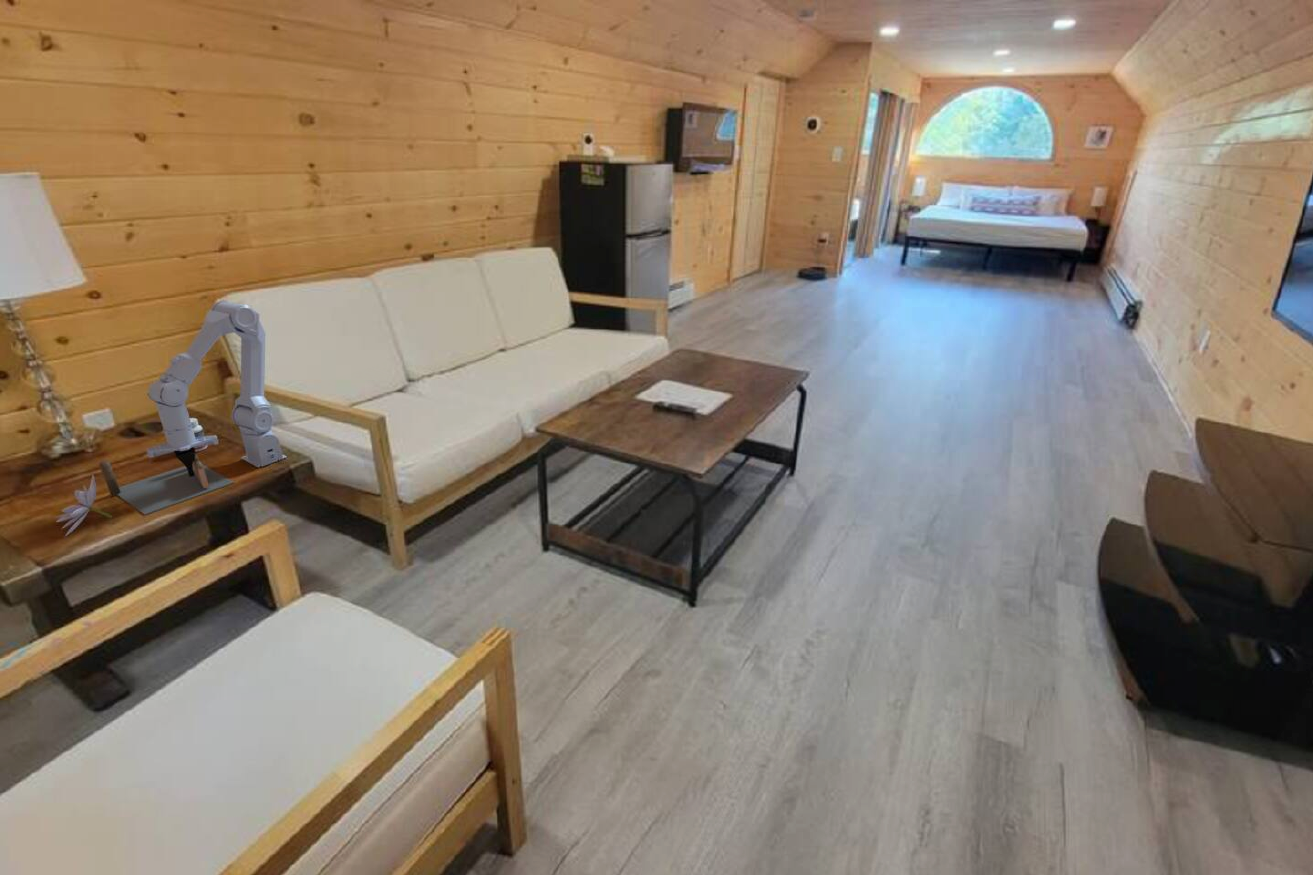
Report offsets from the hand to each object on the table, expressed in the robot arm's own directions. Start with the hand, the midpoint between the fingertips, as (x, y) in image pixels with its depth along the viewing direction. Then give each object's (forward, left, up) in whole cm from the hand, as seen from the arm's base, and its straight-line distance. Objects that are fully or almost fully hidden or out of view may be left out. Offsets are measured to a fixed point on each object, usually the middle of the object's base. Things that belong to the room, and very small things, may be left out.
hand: (191, 474), depth 164 cm
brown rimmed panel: (+1, -2, -2) cm, 3 cm away
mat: (+3, +4, -3) cm, 6 cm away
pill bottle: (+23, -10, -3) cm, 26 cm away
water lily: (+1, +23, -3) cm, 23 cm away
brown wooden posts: (+10, +5, -3) cm, 12 cm away
